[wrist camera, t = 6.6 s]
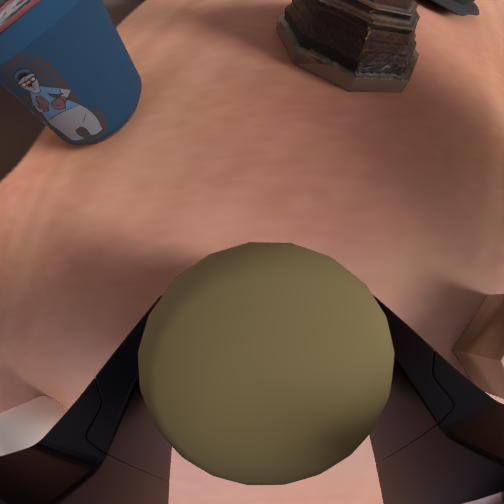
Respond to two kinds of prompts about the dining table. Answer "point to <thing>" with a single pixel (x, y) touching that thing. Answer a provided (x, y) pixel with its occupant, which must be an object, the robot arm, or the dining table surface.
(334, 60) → the bird statue
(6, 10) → the soda can
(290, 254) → the cork
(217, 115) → the dining table surface
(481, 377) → the walnut block
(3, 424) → the off-white cylinder
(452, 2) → the casserole
